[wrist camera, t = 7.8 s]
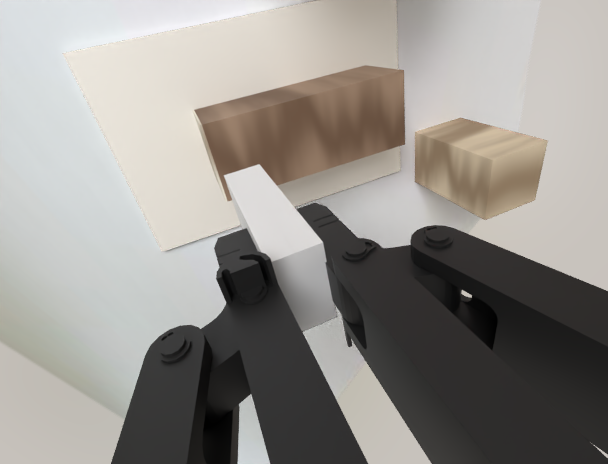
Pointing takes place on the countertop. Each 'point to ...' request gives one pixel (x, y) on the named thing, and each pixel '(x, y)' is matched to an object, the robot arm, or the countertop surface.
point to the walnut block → (306, 125)
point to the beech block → (479, 165)
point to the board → (220, 88)
